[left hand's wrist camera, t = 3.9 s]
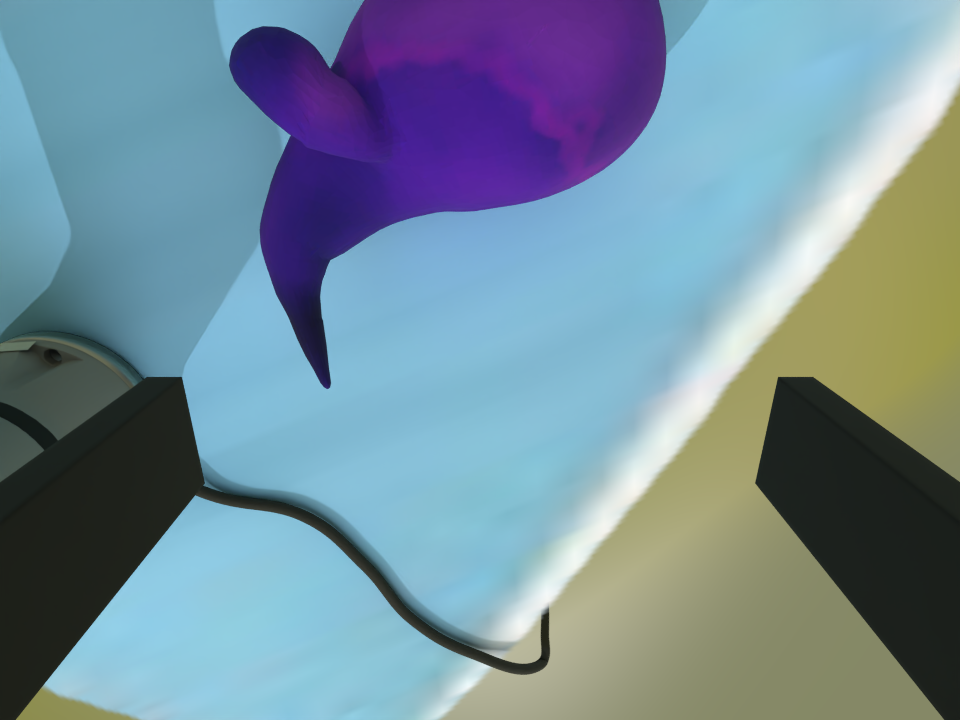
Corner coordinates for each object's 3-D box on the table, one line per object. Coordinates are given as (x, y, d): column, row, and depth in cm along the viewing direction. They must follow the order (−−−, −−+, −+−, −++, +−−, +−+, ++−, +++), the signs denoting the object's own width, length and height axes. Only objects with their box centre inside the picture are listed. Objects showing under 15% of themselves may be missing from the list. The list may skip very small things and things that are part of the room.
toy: (228, 167, 41) (554, -44, 39) (357, 373, 42) (678, 180, 40) (61, 82, 25) (596, -281, 23) (275, 416, 26) (798, 101, 24)
